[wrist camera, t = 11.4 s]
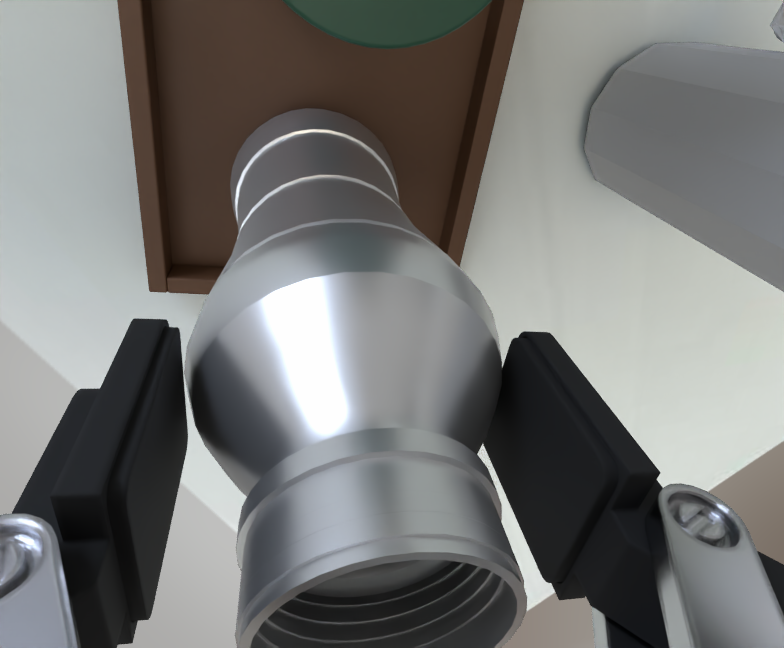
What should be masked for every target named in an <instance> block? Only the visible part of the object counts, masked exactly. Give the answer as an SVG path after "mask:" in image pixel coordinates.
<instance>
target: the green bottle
mask: <svg viewBox="0 0 784 648" xmlns="http://www.w3.org/2000/svg"><path fill="white" fill-rule="evenodd" d="M282 1H283V2H284V3H285V4H286V5H287V6H288V7H289V8H291V9H292V10H293V11H294V12H295V13H296V14H298V15H299V16H300V17H302V18H303V19H304V20H306V21H307V22H308V23H310V24H311V25H312V26H314V27H316V28H318V29H319V30H321V31H323V32H325V33H327V34H328V35H330V36H333V37H335V38H338V39H340V40H343V41H345V42H348V43H351V44H355V45H359V46H364V47H368V48H379V49H398V48H408V47H413V46H417V45H422V44H426V43H428V42H431V41H434V40H436V39H439V38H442V37H444V36H446V35H447V34H449V33H451V32H453V31H455V30H457V29H458V28H460V27H461V26H463V25H464V24H466V23H467V22H468V21H470V20H471V19H472V18H474V17H475V16H476V15H477V14H479V13H480V12H481V11H482V10H483V9H484V8H485V7H486V6H487V5H488V4H489V3H490V2H491V1H492V0H282Z"/></svg>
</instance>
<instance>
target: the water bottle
mask: <svg viewBox="0 0 784 648" xmlns="http://www.w3.org/2000/svg"><path fill="white" fill-rule="evenodd" d="M770 26H771V27H772V29H773V30H774V33H775V35H776V37H777V38H778V39H779V40H780V41H782V42H784V2H783V4H782V5H781V7H780V9H779V10H778V12H777V14H776V16H775V17H774V19H773V21H772V23H771V24H770ZM584 150H585V153H586V156H587V158H588V161H589V164H590V167H591V170H592V173H593V175H594V178H595V180H597V181H598V182H600V183H602V184H603V185H605V186H606V187H608V188H610V189H611V190H613V191H614V192H616V193H618V194H619V195H621V196H623V197H624V198H626V199H628V200H629V201H631V202H633V203H634V204H636V205H638V206H640V207H641V208H643V209H645V210H646V211H648V212H650V213H651V214H653V215H655V216H656V217H658V218H660V219H661V220H663V221H665V222H667V223H668V224H670V225H672V226H673V227H675V228H677V229H678V230H680V231H682V232H683V233H685V234H687V235H688V236H690V237H692V238H694V239H695V240H697V241H699V242H700V243H702V244H704V245H705V246H707V247H709V248H710V249H712V250H714V251H715V252H717V253H719V254H721V255H722V256H724V257H726V258H727V259H729V260H731V261H732V262H734V263H736V264H737V265H739V266H741V267H742V268H744V269H746V270H748V271H749V272H751V273H753V274H754V275H756V276H758V277H759V278H761V279H763V280H764V281H766V282H768V283H769V284H771V285H773V286H775V287H776V288H778V289H780V290H781V291H783V292H784V52H777V51H768V50H759V49H750V48H741V47H732V46H723V45H714V44H705V43H696V42H683V43H656V44H654V45H652V46H651V47H649V48H648V49H646V50H644V51H643V52H641V53H640V54H638V55H637V56H635V57H634V58H632V59H631V60H629V61H628V62H626V63H624V64H623V65H621V66H620V67H618V68H617V69H616V71H615V72H614V74H613V75H612V77H611V78H610V80H609V81H608V83H607V84H606V86H605V87H604V89H603V90H602V92H601V93H600V95H599V96H598V98H597V99H596V101H595V102H594V104H593V105H592V107H591V111H590V117H589V122H588V128H587V133H586V139H585V144H584Z"/></svg>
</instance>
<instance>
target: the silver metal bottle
mask: <svg viewBox="0 0 784 648" xmlns="http://www.w3.org/2000/svg"><path fill="white" fill-rule="evenodd" d="M230 188H231V199H232V206H233V211H234V214H235V218H236V221H237V224H238V236H237V241H236V243H235V246H234V249H233V252H232V255H231V257H230V259H229V260H228V262H227V264H226V266H225V267H224V269H223V271H222V272H221V274H220V276H219V278H218V279H217V281H216V283H215V284H214V286H213V288H212V289H211V291H210V293H209V295H208V296H207V298H206V299H205V301H204V304H203V307H202V309H201V312H200V314H199V317H198V319H197V322H196V324H195V327H194V329H193V332H192V335H191V337H190V340H189V342H188V345H187V350H186V360H185V370H184V374H185V380H186V386H187V392H188V397H189V401H190V405H191V409H192V414H193V418H194V422H195V426H196V428H197V430H198V432H199V434H200V436H201V438H202V440H203V442H204V445H205V446H206V448H207V449H208V450H209V452H210V453H211V454H212V456H213V457H214V458H215V460H216V461H217V462H218V464H219V465H220V466H221V468H222V469H223V470H224V472H225V473H226V474H227V475H228V477H229V478H230V479H231V480H232V481H233V483H234V484H235V485H236V486H237V487H238V489H239V490H240V491H241V492H242V493H243V494H245V495H246V496H247V498H246V500H245V502H244V504H243V506H242V510H241V515H240V519H239V525H238V534H237V544H236V553H237V561H238V566H239V568H240V570H241V582H240V592H239V602H238V613H237V623H236V632H235V638H236V644H237V648H502V646H504V645H505V644H506V643H507V642H508V641H509V640H510V639H511V638H512V636H513V635H514V634H515V632H516V631H517V629H518V628H519V627H520V625H521V623H522V620H523V618H524V616H525V613H526V609H527V596H526V593H525V590H524V580H523V577H522V574H521V571H520V568H519V566H518V563H517V561H516V558H515V556H514V554H513V551H512V548H511V546H510V543H509V541H508V538H507V536H506V533H505V531H504V528H503V525H502V523H501V520H502V509H501V502H500V499H499V496H498V493H497V491H496V488H495V486H494V483H493V481H492V478H491V476H490V473H489V471H488V468H487V467H486V466H485V464H484V463H483V462H482V460H481V459H480V458H479V456H478V455H477V453H478V451H479V449H480V448H481V446H482V444H483V442H484V440H485V438H486V435H487V432H488V429H489V426H490V424H491V421H492V418H493V415H494V412H495V409H496V406H497V402H498V398H499V394H500V390H501V385H502V361H501V353H500V345H499V338H498V332H497V329H496V325H495V321H494V317H493V313H492V311H491V309H490V307H489V306H488V304H487V302H486V300H485V299H484V297H483V295H482V293H481V292H480V290H479V289H478V288H477V287H476V286H475V285H474V284H473V282H472V281H471V280H470V279H469V278H468V276H467V275H466V274H465V273H464V272H463V271H462V270H461V268H460V267H459V266H458V265H457V264H456V263H455V262H454V261H453V260H452V259H451V258H450V257H449V256H448V255H447V254H446V253H444V252H443V251H442V250H441V249H440V248H439V247H438V246H436V245H435V244H434V243H433V242H432V241H431V240H429V239H428V238H427V237H426V236H425V235H424V234H423V233H421V232H420V231H419V230H418V229H417V228H416V227H415V226H414V225H413V224H412V222H411V221H410V220H409V218H408V217H407V216H406V214H405V213H404V212H403V211H402V209H401V207H400V204H399V193H398V184H397V179H396V174H395V170H394V167H393V164H392V161H391V158H390V156H389V154H388V153H387V151H386V149H385V148H384V146H383V144H382V143H381V142H380V141H379V139H378V138H377V137H376V136H375V135H374V134H373V133H372V132H371V131H370V130H369V129H367V128H366V127H365V126H363V125H362V124H361V123H359V122H358V121H356V120H354V119H352V118H350V117H348V116H346V115H343V114H341V113H337V112H333V111H329V110H325V109H311V108H305V109H298V110H292V111H289V112H286V113H283V114H281V115H278V116H276V117H273V118H272V119H270V120H269V121H267V122H266V123H264V124H262V125H261V126H259V127H258V128H257V129H256V130H255V131H254V132H253V133H252V134H251V135H250V136H249V137H248V138H247V139H246V141H245V142H244V144H243V145H242V147H241V148H240V150H239V152H238V153H237V156H236V159H235V162H234V164H233V167H232V173H231V181H230Z"/></svg>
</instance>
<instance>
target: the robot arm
mask: <svg viewBox="0 0 784 648" xmlns="http://www.w3.org/2000/svg"><path fill="white" fill-rule="evenodd" d="M187 441H188V431H187V418H186V405H185V392H184V379H183V366H182V354H181V341H180V331H179V328H173V327H169V324H168V321H167V320H163V319H133V320H132V322H131V324H130V326H129V328H128V330H127V332H126V334H125V337H124V339H123V341H122V343H121V345H120V347H119V349H118V352H117V354H116V356H115V358H114V360H113V362H112V364H111V366H110V369H109V371H108V373H107V375H106V377H105V379H104V381H103V384H102V386H101V388H100V389H80V390H78V391H77V392H76V393H75V395H74V396H73V398H72V400H71V402H70V404H69V405H68V407H67V409H66V411H65V413H64V415H63V417H62V419H61V421H60V423H59V424H58V426H57V428H56V430H55V432H54V434H53V436H52V438H51V440H50V442H49V444H48V446H47V447H46V449H45V451H44V453H43V455H42V457H41V459H40V461H39V463H38V465H37V466H36V468H35V470H34V472H33V474H32V476H31V478H30V480H29V482H28V483H27V485H26V487H25V489H24V491H23V493H22V495H21V497H20V499H19V501H18V503H17V504H16V506H15V508H14V510H13V512H12V514H3V515H0V648H117V645H118V644H129V643H133V638H134V634H135V630H136V625H137V621H138V620H148V619H149V618H150V616H151V613H152V609H153V604H154V600H155V595H156V590H157V586H158V581H159V576H160V572H161V567H162V562H163V558H164V553H165V548H166V544H167V539H168V534H169V530H170V525H171V520H172V516H173V511H174V506H175V501H176V497H177V492H178V488H179V483H180V478H181V474H182V469H183V464H184V460H185V455H186V450H187ZM483 444H484V447H485V449H486V451H487V453H488V456H489V458H490V460H491V462H492V465H493V467H494V469H495V471H496V474H497V476H498V478H499V480H500V483H501V485H502V487H503V490H504V492H505V494H506V496H507V499H508V501H509V503H510V505H511V508H512V510H513V512H514V514H515V517H516V519H517V521H518V523H519V526H520V528H521V530H522V532H523V535H524V537H525V539H526V542H527V544H528V546H529V548H530V551H531V553H532V555H533V557H534V560H535V562H536V564H537V566H538V569H539V571H540V573H541V575H542V577H543V579H544V580H545V581H546V582H548V583H552V586H553V588H554V590H555V592H556V594H557V597H558V599H559V600H565V599H575V598H584V597H585V596H586V597H587V599H588V601H589V603H590V605H591V606H592V619H593V631H594V643H595V648H784V565H783V564H781V563H779V562H777V561H775V560H773V559H772V558H770V557H768V556H766V555H764V554H762V553H760V552H758V551H757V550H756V548H755V545H754V543H753V541H752V538H751V536H750V533H749V531H748V529H747V528H746V526H745V524H744V522H743V521H742V519H741V518H740V517H739V516H738V515H737V514H736V513H735V512H734V510H733V509H732V508H730V507H729V506H728V505H727V504H725V503H724V502H723V501H722V500H720V499H719V498H717V497H715V496H714V495H712V494H710V493H708V492H707V491H705V490H702V489H699V488H697V487H694V486H691V485H685V484H670V485H668V486H666V487H664V488H662V486H661V485H660V484H659V483H658V481H657V480H656V479H657V478H658V476H659V474H660V471H659V470H658V469H657V468H656V466H655V465H654V464H653V463H652V461H651V460H650V459H649V457H648V456H647V455H646V454H645V452H644V451H643V450H642V449H641V447H640V446H639V445H638V444H637V442H636V441H635V440H634V438H633V437H632V436H631V435H630V433H629V432H628V431H627V430H626V428H625V427H624V426H623V424H622V423H621V422H620V421H619V419H618V418H617V417H616V416H615V414H614V413H613V412H612V410H611V409H610V408H609V407H608V405H607V404H606V403H605V402H604V400H603V399H602V398H601V396H600V395H599V394H598V393H597V391H596V390H595V389H594V388H593V386H592V385H591V384H590V383H589V381H588V380H587V379H586V377H585V376H584V375H583V374H582V372H581V371H580V370H579V369H578V367H577V366H576V365H575V363H574V362H573V361H572V360H571V358H570V357H569V356H568V355H567V353H566V352H565V351H564V349H563V348H562V347H561V346H560V344H559V343H558V342H557V341H556V339H555V338H554V337H553V335H551V334H550V333H548V332H522V333H521V334H520V335H519V337H518V338H514V339H513V340H512V341H511V344H510V347H509V350H508V353H507V356H506V359H505V362H504V365H503V368H502V385H501V390H500V394H499V398H498V402H497V406H496V409H495V412H494V415H493V418H492V421H491V424H490V426H489V429H488V432H487V435H486V438H485V440H484V442H483Z"/></svg>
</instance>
